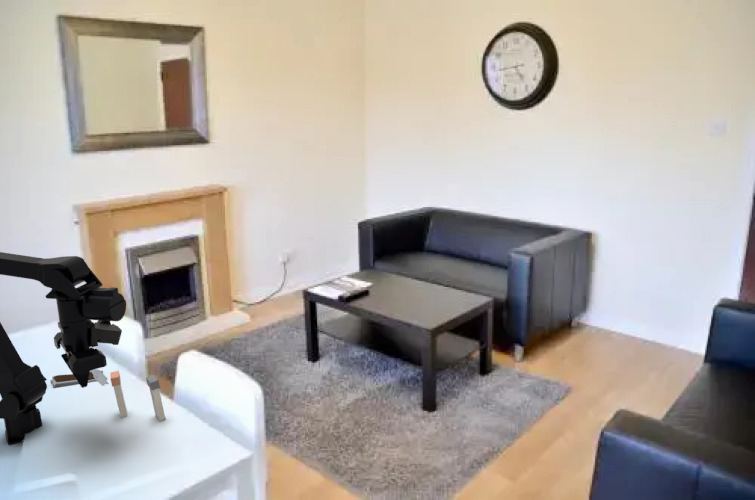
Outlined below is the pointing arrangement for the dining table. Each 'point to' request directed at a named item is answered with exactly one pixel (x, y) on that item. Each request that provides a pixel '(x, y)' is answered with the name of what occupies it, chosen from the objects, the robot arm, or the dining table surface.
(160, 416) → the lever
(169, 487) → the dining table surface
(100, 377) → the handgun
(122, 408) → the lever
